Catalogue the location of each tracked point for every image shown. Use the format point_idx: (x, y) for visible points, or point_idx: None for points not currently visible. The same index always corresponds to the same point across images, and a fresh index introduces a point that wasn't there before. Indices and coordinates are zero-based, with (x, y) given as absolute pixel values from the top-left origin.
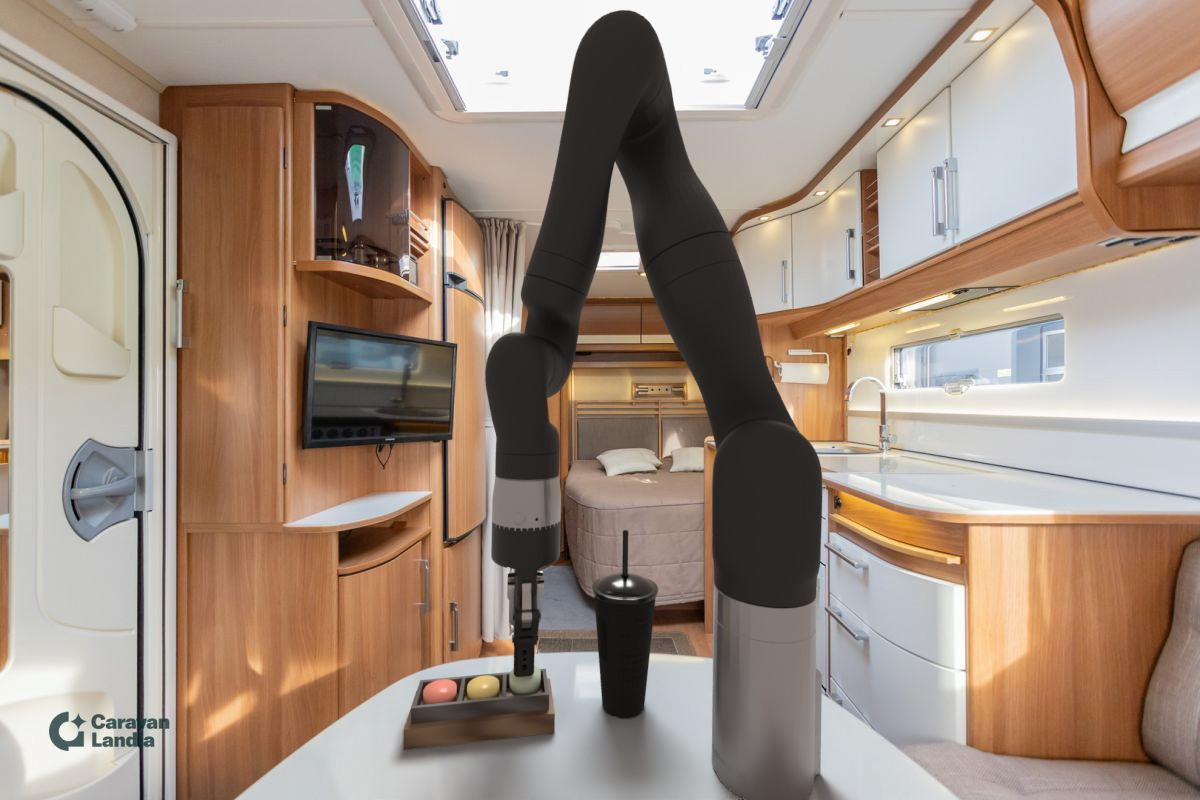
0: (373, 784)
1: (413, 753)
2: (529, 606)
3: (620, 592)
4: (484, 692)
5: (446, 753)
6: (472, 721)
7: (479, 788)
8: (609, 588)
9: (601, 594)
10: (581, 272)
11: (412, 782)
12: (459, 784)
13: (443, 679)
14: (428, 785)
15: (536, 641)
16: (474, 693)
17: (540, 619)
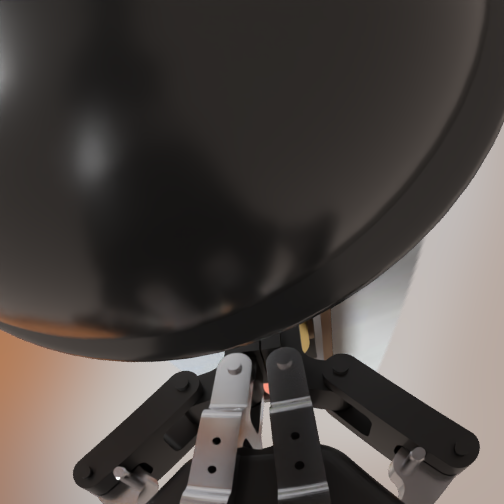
0: (374, 361)
1: (336, 349)
2: (445, 485)
3: (469, 4)
4: (304, 339)
5: (342, 321)
6: (329, 323)
7: (411, 272)
8: (309, 221)
9: (343, 290)
10: None
11: (381, 336)
12: (398, 294)
13: (264, 388)
14: (390, 322)
15: (366, 366)
16: (306, 350)
17: (312, 407)
